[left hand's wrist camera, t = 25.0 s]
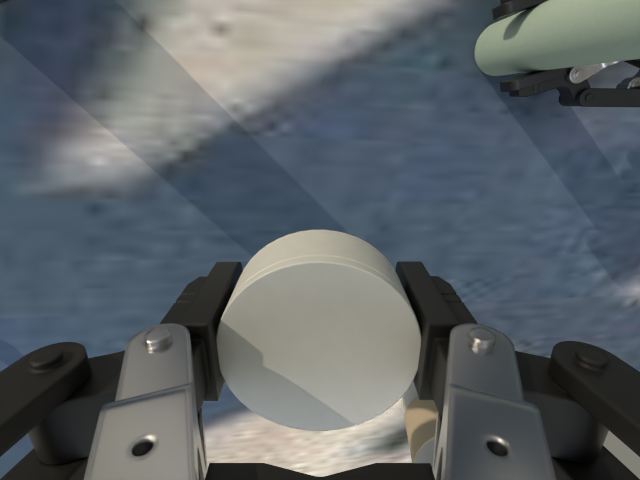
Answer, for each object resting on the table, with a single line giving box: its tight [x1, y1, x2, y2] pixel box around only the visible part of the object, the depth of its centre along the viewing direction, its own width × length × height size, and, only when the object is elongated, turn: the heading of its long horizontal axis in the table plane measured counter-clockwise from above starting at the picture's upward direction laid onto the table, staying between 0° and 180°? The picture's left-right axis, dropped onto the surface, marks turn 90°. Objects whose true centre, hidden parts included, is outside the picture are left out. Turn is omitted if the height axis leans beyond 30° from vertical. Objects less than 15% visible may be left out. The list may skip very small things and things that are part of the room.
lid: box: [216, 230, 421, 431], centre depth 10 cm, size 5×5×2 cm
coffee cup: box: [402, 382, 438, 467], centre depth 38 cm, size 9×9×15 cm
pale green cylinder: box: [475, 0, 640, 76], centre depth 22 cm, size 4×4×20 cm
